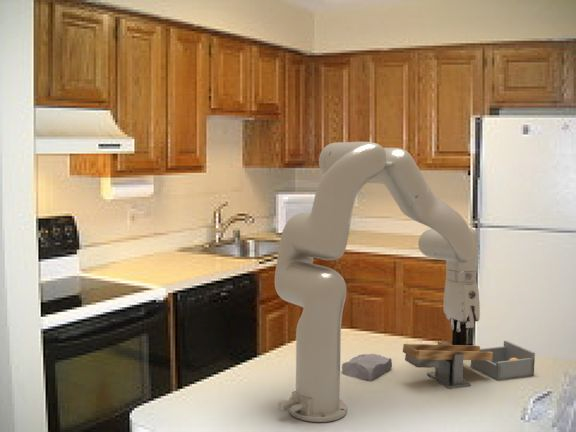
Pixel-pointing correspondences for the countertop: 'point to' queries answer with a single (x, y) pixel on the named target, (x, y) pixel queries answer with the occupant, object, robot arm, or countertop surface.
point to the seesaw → (441, 353)
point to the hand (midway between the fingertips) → (459, 345)
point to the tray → (506, 362)
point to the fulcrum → (450, 372)
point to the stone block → (367, 366)
